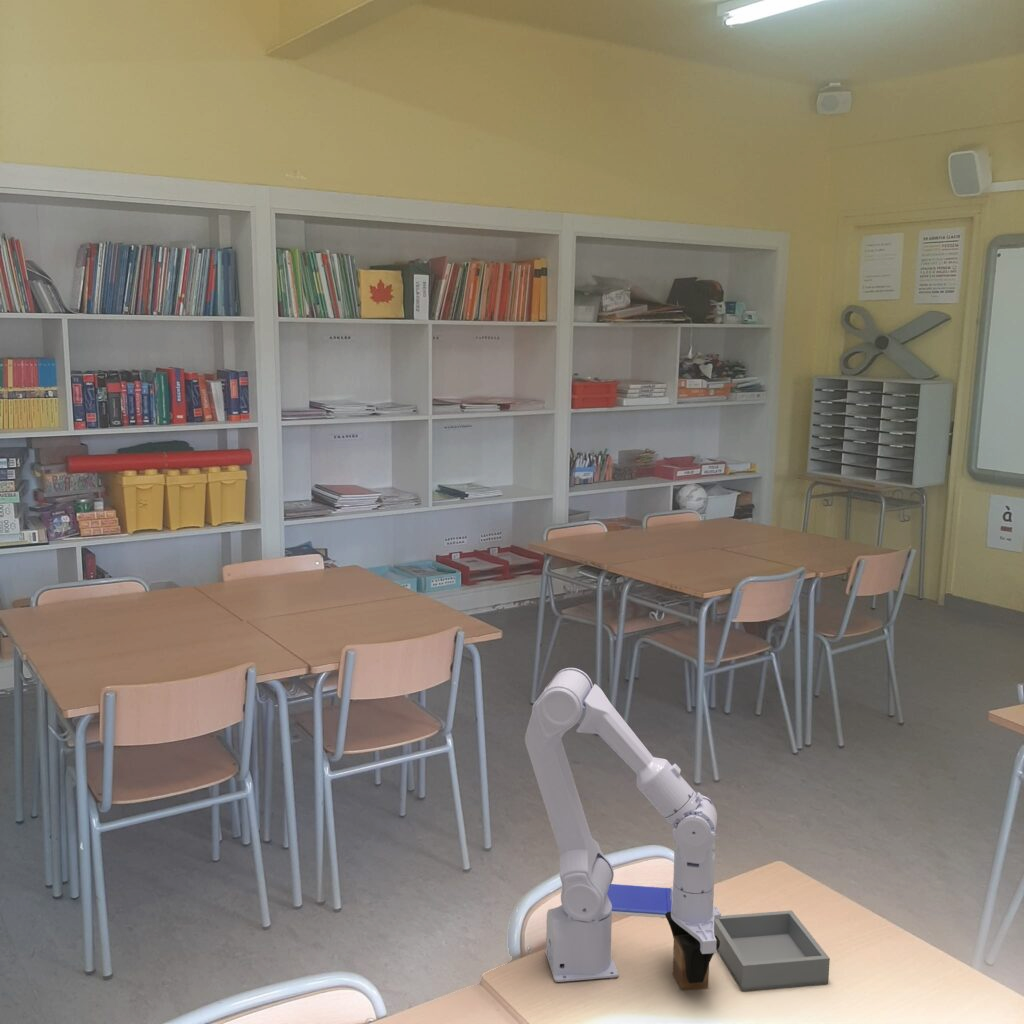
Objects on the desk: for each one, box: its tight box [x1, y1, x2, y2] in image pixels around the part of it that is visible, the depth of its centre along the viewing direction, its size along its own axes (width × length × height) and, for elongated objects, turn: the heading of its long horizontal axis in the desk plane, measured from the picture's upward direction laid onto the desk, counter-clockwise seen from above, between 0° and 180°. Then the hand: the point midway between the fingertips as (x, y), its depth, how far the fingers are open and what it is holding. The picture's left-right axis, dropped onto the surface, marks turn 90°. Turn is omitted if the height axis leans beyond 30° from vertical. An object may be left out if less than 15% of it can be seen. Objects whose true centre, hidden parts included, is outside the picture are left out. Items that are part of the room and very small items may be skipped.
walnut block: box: [672, 935, 710, 991], centre depth 146 cm, size 4×4×6 cm
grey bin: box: [714, 910, 831, 993], centre depth 151 cm, size 13×13×4 cm
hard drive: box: [607, 883, 672, 919], centre depth 168 cm, size 2×8×12 cm
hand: (690, 971), depth 146 cm, fingers closed on walnut block, 4 cm apart
